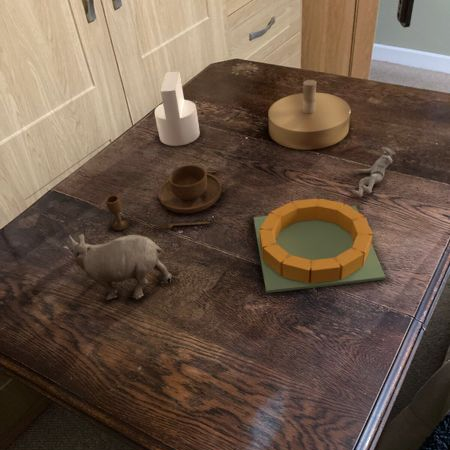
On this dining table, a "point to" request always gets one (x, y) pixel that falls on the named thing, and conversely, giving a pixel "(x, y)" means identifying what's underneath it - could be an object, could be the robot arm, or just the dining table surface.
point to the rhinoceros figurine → (119, 261)
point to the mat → (315, 253)
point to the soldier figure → (374, 172)
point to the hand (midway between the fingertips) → (435, 21)
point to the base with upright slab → (176, 114)
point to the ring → (323, 267)
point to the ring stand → (309, 119)
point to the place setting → (179, 194)
